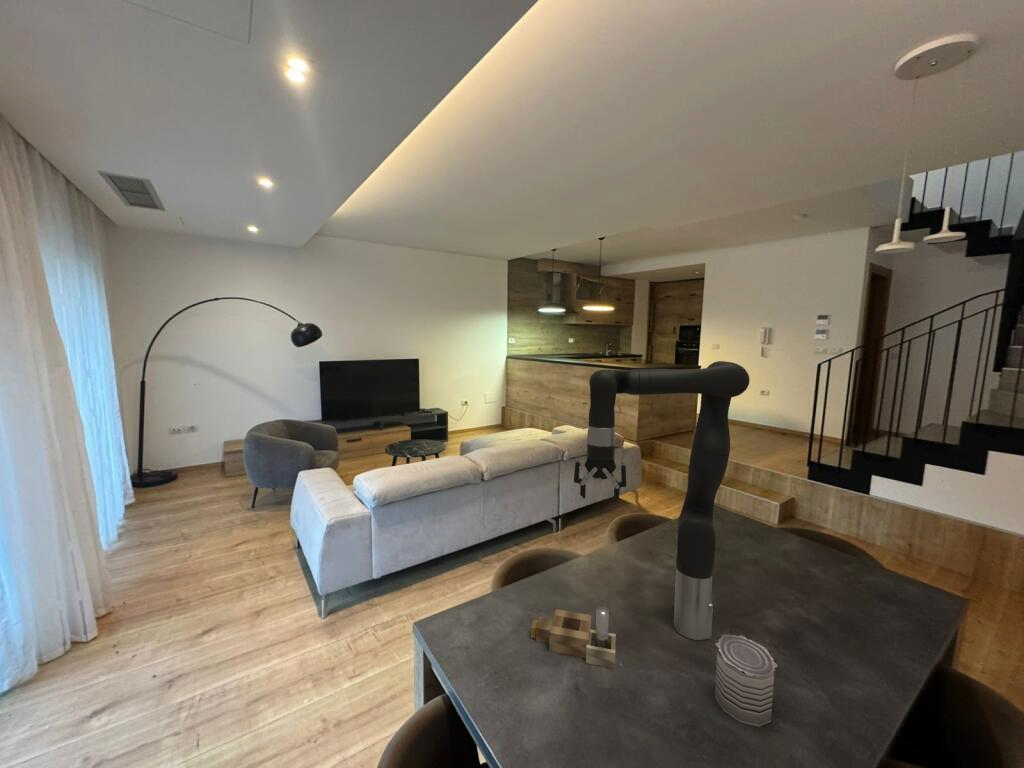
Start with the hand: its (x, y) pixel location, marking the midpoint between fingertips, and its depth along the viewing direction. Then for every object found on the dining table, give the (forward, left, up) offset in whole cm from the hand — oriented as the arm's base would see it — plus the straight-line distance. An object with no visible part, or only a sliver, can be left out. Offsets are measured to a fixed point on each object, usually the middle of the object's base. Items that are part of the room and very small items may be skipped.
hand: (599, 499), depth 114 cm
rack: (-2, +13, -36) cm, 38 cm away
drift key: (+12, +10, -36) cm, 39 cm away
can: (-33, +19, -36) cm, 53 cm away
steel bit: (-2, +13, -36) cm, 38 cm away
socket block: (+8, +10, -36) cm, 38 cm away
